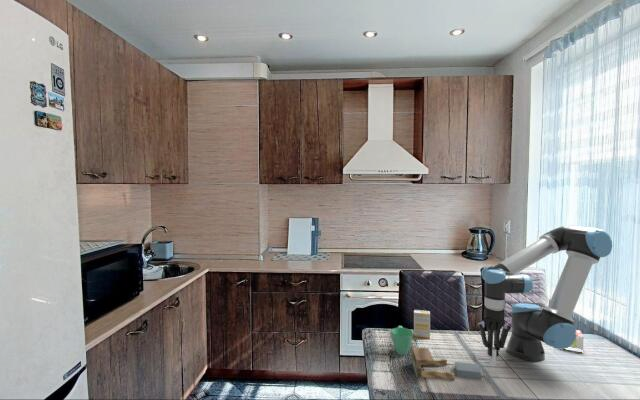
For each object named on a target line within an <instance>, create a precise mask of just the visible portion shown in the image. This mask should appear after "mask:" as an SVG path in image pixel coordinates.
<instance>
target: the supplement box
mask: <svg viewBox="0 0 640 400" xmlns="http://www.w3.org/2000/svg"><path fill="white" fill-rule="evenodd" d="M413 337H414V338H422V339H423V338H424V339H431V310H430V311H429V310H422V309H414V310H413Z"/></svg>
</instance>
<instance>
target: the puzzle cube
mask: <svg viewBox="0 0 640 400" xmlns="http://www.w3.org/2000/svg"><path fill="white" fill-rule="evenodd" d="M575 333H576V334H577V336H576V339H575V341H574V343H573V344H572V345H571V346H570V347H572V348H579V349H581V350H583V351H584V340H585V339H584V338H585V337H584V335H583V333H582V331H581V330H579V329H576V332H575Z"/></svg>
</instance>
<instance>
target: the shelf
mask: <svg viewBox="0 0 640 400" xmlns="http://www.w3.org/2000/svg"><path fill="white" fill-rule="evenodd" d="M411 357H412V367H413V370H414V372H415V376H416V378H431V379H445V380H446V379H447V380H449V381H450V380H451V381H453V382H454V381H455V373H452V372H449V371H440V370H426V369H425V370H424V369H422V366H429V367H430V366H431V367H443V366H448V364H447V363H448V360H447V358H441V359H434V358H433V355H432V354H431V351H430V349H429V348H428V347H426V348H425V347H412V356H411Z"/></svg>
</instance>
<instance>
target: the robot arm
mask: <svg viewBox="0 0 640 400" xmlns="http://www.w3.org/2000/svg"><path fill="white" fill-rule="evenodd" d="M612 250H613V241H612V239H611V236H610V234H609V233H608V232H607V231H605V230H604V229H600V228H596V227H587V226H586V227H585V226H578V225H577V226H576V225H564V226H559V227H556V228H554V229H551V230H550V231H548V232H545V233H543V234H541V235H540V236H539V238H538V239H537V241H534V242H533V243H531V244H529V245H528V246H527V247H525V248H523V249H521V250H519V251H518V252H516V253H514V254H512V255H511V256H509V257H508V258H506V259H504V260H503V261H501V262H499V263H498V264H496V265H494V266H493V265H486V266H484V267H483V268H482V269H481V273H480V276H481V278H482V279H483V280H484V300H483V301H484V303H483V304H484V307H483V308H484V309H483V319H482V321H480V322H479V321H478V322H477V323H476V325H477V326H478V328H479V332H480V336H481V341H482V345H484V347H485V348H487V355H488V356H489V363H490V365H491V366H497V357H499V352H500V350H501V349H504V348H505V344H506V341H507V338H508V334H509V331H510V330H511V334H510V336H509V339H508V341H507V344H506V349H507V352H508V353H509V354H510V355H512V356H514V357H516V358H519V359H521V360H525V361H530V362H531V361H532V362H541V361H543V360H545V357H546V352H545V350H544V347H543V343H544V344H545V345H547V346H550V347H551V348H554V349H557V350H563V349H565V348H568V347H570V346H571V345H572V344H573V343H574V341H575V339H576V336H577V334H576V333H575V332H576V330H577V329H576V328H575V327H574V326H573V325H574V323H575V321H574V318H573V317H572V315H573V312H575V311H574V310H575V308H576V306H577V303H578V301H579V298H580V296H581V293H582V291H583V288H584V286H585V284H586V282H587V279H588V277H589V274H590V271H591V269H592V267H593V265H595V264H597V263H599V261H600V259H601V258H605V257H607V256H609V255H610V254H611V252H612ZM562 251H565V253H566V255H567V259H566V262H565V264H564V265H563V266H564V267H563V270H562V271H561V274H560V276H559V279H558V281H557V284H556V286H555V289H554V291H553V293H552V296H551V298H550V301H549V303H548V305H547V306H545V307H541V306H540V305H538V304H533V303H523V302H521V303H515V304H513V305H512V306H511V313H510V314H511V325H510V324H508V323H507V322H506V320H505V314H506V313H505V312H506V311H505V308H506V294H524V293H525V294H526V293H530V292H531V291H532V290H533V287H534V286H533V285H534V284H533V283H534V282H533V280H532V278H531V277H530V276H529V275H527V274H523V273H522V274H521V272H522V271H524V270H525V269H527V268H529V267H530V266H532V265H534V264H535V263H537V262H538V261H540V260H542V259H544V258H546V257H547V256H548V255H551V254H553V255H554V254H557V253H558V252H562ZM485 327H486V328H487V330H485ZM501 330H502V331H501ZM486 331H487V334H486Z"/></svg>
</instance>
